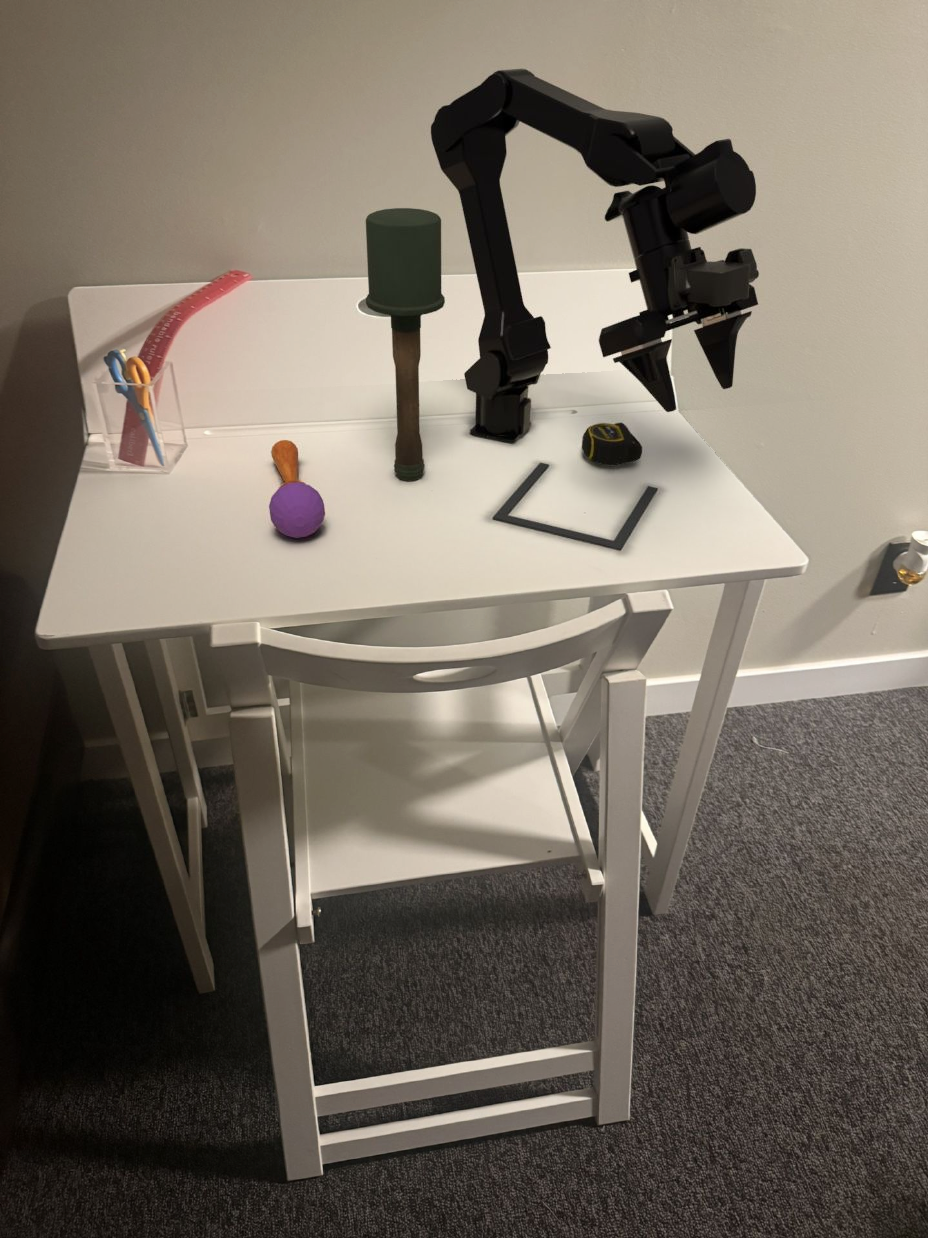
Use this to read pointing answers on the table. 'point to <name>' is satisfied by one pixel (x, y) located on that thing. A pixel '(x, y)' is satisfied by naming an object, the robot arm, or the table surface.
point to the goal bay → (616, 544)
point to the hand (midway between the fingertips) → (700, 399)
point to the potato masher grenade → (405, 309)
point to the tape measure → (610, 444)
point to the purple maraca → (294, 496)
